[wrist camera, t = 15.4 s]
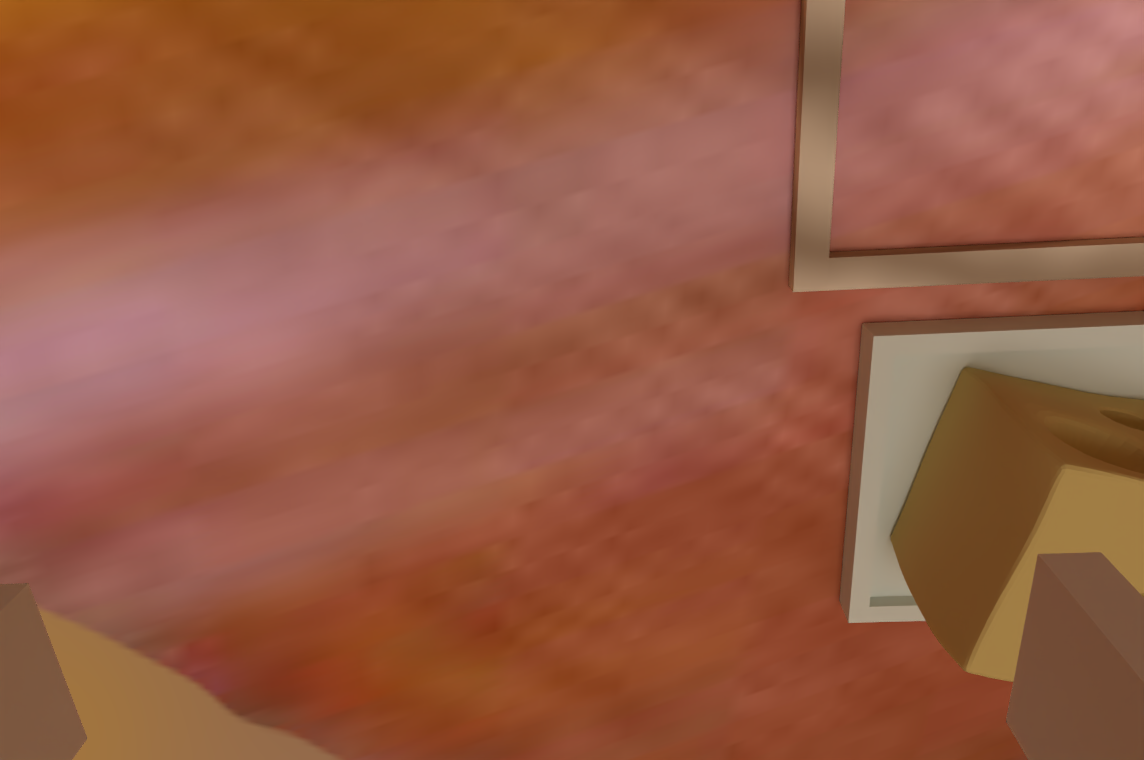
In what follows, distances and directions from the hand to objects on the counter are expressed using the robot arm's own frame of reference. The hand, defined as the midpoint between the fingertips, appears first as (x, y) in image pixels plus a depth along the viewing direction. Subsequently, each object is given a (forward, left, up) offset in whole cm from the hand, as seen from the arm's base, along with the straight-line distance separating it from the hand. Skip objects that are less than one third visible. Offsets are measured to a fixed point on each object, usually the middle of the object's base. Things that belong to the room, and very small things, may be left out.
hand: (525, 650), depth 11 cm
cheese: (+14, +21, -28) cm, 37 cm away
